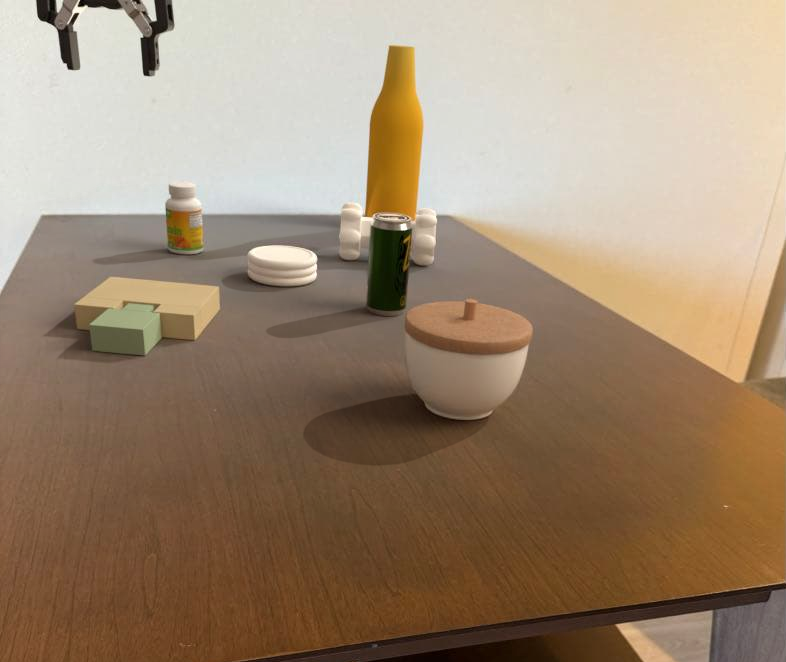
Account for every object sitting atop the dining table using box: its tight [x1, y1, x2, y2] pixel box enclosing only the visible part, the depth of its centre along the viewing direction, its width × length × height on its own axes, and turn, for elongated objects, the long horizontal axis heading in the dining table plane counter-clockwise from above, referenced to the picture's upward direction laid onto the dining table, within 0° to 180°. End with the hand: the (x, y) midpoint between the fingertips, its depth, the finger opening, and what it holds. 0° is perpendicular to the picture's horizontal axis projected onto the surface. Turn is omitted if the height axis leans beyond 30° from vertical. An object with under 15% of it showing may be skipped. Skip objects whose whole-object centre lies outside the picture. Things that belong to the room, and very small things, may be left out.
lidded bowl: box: [403, 298, 534, 421], centre depth 86 cm, size 13×13×11 cm
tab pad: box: [89, 303, 163, 357], centre depth 97 cm, size 8×6×3 cm
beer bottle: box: [364, 44, 424, 221], centre depth 146 cm, size 9×9×29 cm
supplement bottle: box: [164, 181, 204, 256], centre depth 130 cm, size 5×5×10 cm
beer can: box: [365, 213, 412, 317], centre depth 111 cm, size 5×5×12 cm
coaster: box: [246, 244, 318, 287], centre depth 123 cm, size 10×10×4 cm
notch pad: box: [73, 276, 221, 341], centre depth 104 cm, size 14×12×3 cm
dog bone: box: [338, 202, 438, 267], centre depth 134 cm, size 15×9×8 cm, turn 90°
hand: (111, 72), depth 95 cm, fingers open, 8 cm apart
